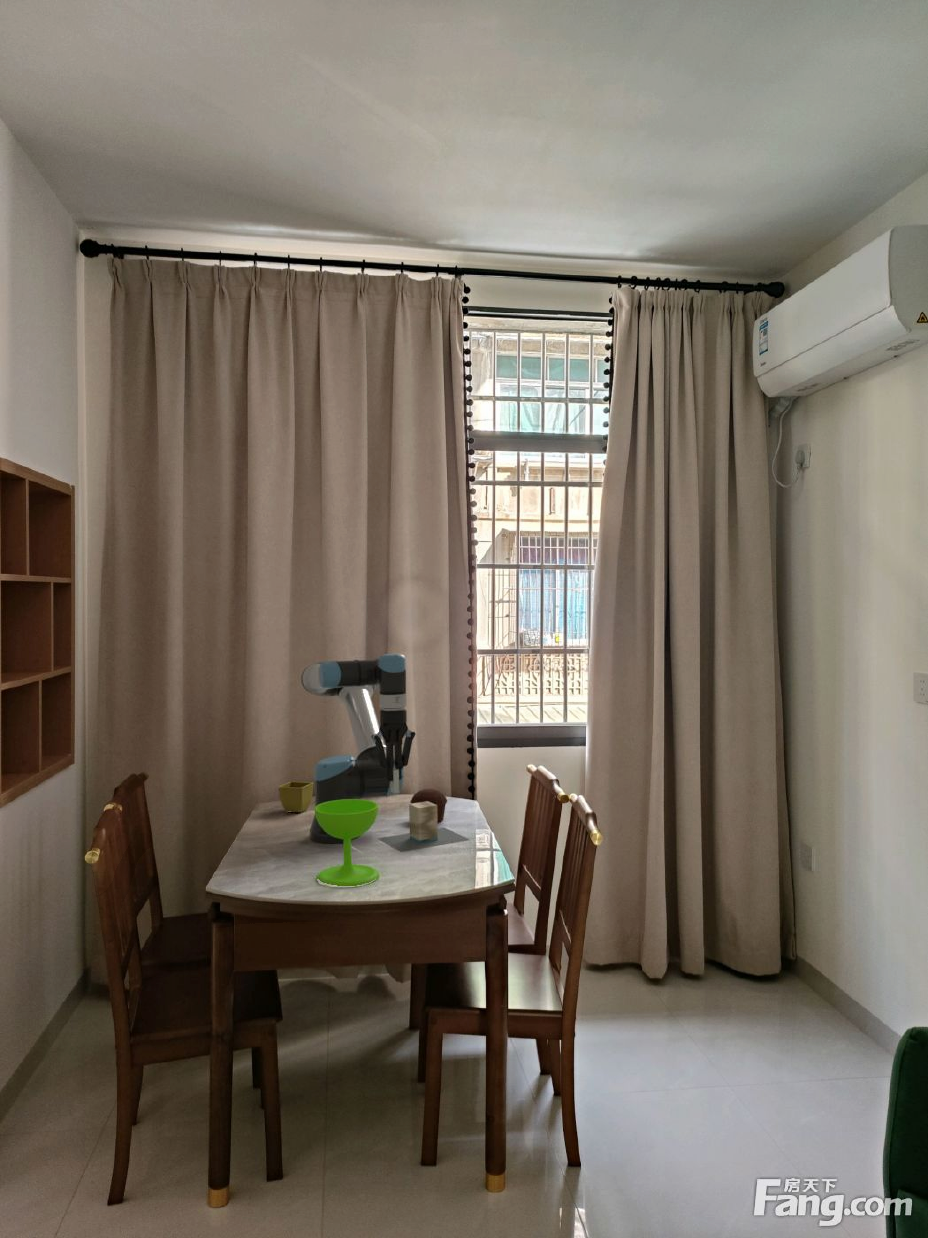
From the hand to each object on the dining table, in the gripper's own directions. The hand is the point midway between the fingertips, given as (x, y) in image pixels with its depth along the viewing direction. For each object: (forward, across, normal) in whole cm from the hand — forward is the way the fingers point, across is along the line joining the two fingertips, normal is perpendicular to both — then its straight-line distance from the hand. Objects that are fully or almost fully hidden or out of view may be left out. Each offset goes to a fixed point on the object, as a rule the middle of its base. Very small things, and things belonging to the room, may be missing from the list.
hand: (394, 791), depth 244 cm
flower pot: (+15, -11, +54) cm, 58 cm away
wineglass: (+16, -22, -19) cm, 33 cm away
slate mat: (+15, +9, 0) cm, 18 cm away
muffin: (+16, +20, +18) cm, 31 cm away
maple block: (+15, +9, 0) cm, 17 cm away
